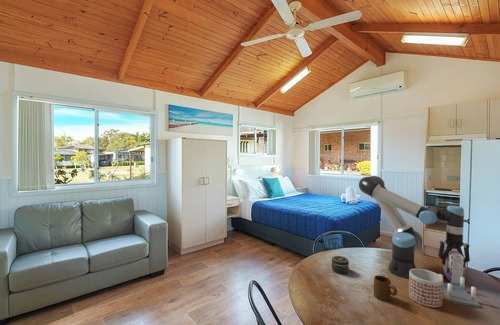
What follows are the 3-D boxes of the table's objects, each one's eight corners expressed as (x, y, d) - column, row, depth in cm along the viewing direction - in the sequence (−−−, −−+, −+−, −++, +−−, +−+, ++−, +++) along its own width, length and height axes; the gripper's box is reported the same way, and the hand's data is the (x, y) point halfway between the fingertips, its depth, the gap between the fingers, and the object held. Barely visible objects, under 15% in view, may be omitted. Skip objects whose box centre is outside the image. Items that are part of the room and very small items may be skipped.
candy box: (443, 272, 150) (444, 246, 149) (455, 275, 147) (456, 248, 147) (450, 283, 138) (451, 254, 137) (463, 286, 135) (464, 256, 134)
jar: (351, 272, 150) (352, 259, 150) (342, 276, 144) (342, 263, 144) (338, 265, 158) (338, 254, 158) (328, 269, 153) (328, 257, 152)
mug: (402, 305, 117) (402, 285, 117) (390, 308, 115) (391, 288, 114) (381, 291, 128) (381, 274, 128) (370, 294, 126) (370, 276, 126)
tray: (452, 303, 119) (452, 289, 119) (434, 282, 138) (434, 270, 138) (481, 308, 115) (482, 293, 115) (459, 286, 135) (459, 273, 134)
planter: (402, 291, 129) (403, 268, 128) (429, 292, 128) (430, 268, 128) (420, 307, 115) (421, 281, 115) (449, 308, 115) (450, 282, 114)
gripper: (437, 232, 141) (435, 271, 142) (479, 236, 135) (478, 277, 136) (431, 229, 148) (430, 266, 149) (471, 232, 142) (470, 271, 143)
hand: (453, 271), depth 142 cm, fingers open, 7 cm apart
